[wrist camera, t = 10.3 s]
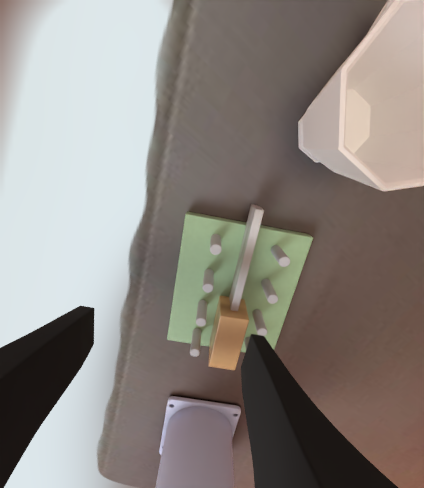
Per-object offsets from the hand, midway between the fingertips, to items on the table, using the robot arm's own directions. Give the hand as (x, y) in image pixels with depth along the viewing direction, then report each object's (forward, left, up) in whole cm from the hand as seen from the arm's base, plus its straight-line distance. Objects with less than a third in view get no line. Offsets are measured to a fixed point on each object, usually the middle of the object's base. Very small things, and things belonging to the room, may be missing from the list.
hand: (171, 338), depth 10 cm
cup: (+13, -8, -10) cm, 18 cm away
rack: (-2, -4, -9) cm, 10 cm away
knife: (-2, -4, -8) cm, 9 cm away
